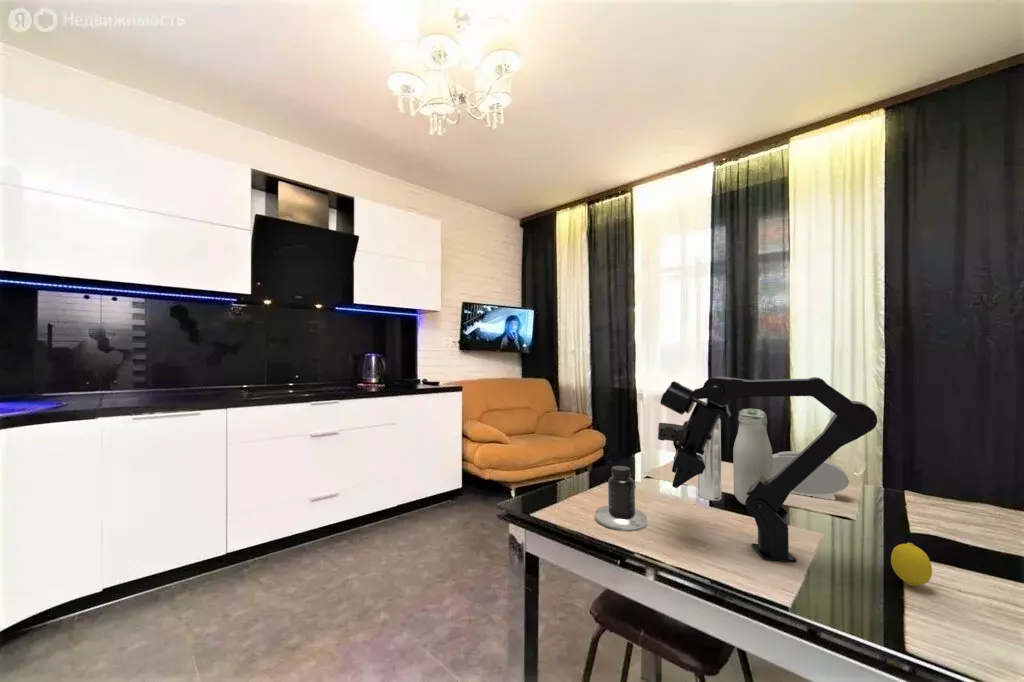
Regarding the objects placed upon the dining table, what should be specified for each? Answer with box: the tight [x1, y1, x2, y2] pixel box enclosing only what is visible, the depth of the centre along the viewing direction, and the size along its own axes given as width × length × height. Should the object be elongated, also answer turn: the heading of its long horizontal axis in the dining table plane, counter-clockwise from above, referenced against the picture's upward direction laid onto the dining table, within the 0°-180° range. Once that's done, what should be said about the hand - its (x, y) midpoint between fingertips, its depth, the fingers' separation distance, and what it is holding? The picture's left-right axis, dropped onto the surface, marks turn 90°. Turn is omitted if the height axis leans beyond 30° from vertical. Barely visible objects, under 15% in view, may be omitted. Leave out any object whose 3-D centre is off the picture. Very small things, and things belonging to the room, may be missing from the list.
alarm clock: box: [772, 450, 850, 501], centre depth 129 cm, size 23×6×13 cm, turn 57°
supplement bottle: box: [607, 465, 636, 519], centre depth 107 cm, size 7×7×12 cm
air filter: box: [697, 418, 722, 501], centre depth 125 cm, size 6×6×25 cm
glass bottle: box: [732, 408, 773, 506], centre depth 117 cm, size 10×10×28 cm
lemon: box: [890, 542, 933, 587], centre depth 77 cm, size 6×6×8 cm
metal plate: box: [594, 505, 648, 532], centre depth 106 cm, size 13×13×2 cm
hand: (673, 479), depth 101 cm, fingers open, 9 cm apart
